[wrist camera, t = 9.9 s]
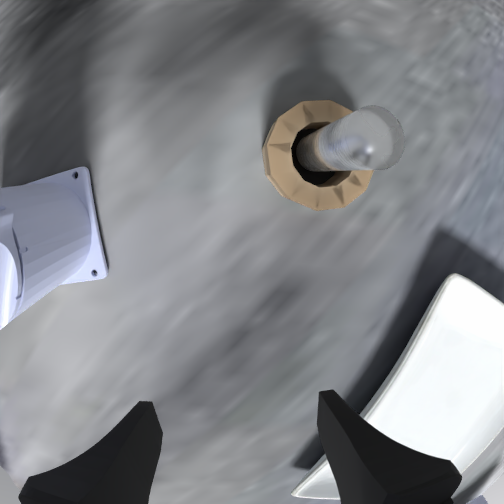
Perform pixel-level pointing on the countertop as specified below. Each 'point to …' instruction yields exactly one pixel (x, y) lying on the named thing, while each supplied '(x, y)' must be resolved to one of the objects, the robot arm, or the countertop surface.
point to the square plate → (439, 384)
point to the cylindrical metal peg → (354, 142)
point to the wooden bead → (286, 176)
